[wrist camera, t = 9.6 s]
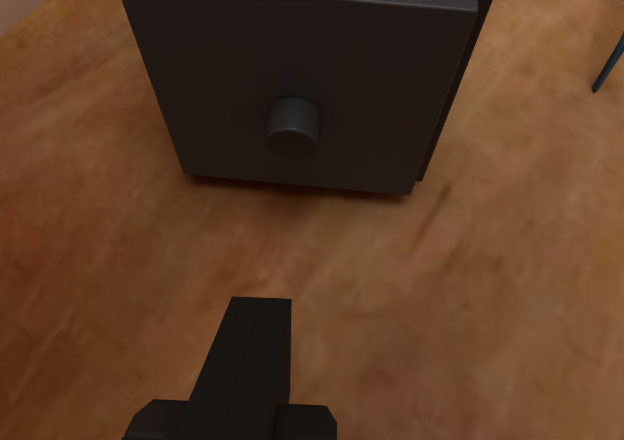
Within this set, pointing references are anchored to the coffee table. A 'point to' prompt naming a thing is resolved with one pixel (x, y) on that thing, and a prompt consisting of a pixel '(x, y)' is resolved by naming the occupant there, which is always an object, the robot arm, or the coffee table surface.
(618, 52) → the sunglasses
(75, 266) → the coffee table surface
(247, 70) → the pulled-out drawer
